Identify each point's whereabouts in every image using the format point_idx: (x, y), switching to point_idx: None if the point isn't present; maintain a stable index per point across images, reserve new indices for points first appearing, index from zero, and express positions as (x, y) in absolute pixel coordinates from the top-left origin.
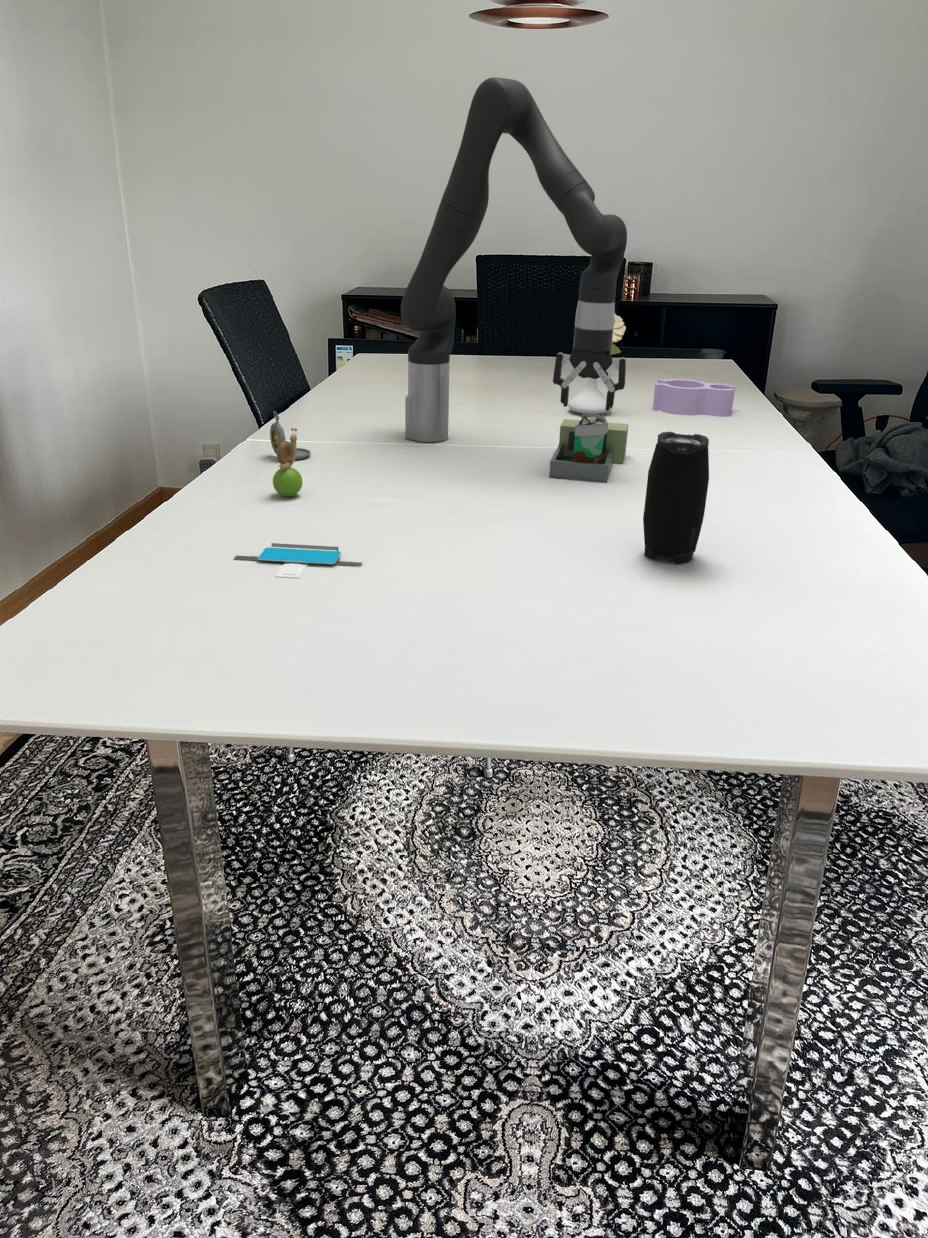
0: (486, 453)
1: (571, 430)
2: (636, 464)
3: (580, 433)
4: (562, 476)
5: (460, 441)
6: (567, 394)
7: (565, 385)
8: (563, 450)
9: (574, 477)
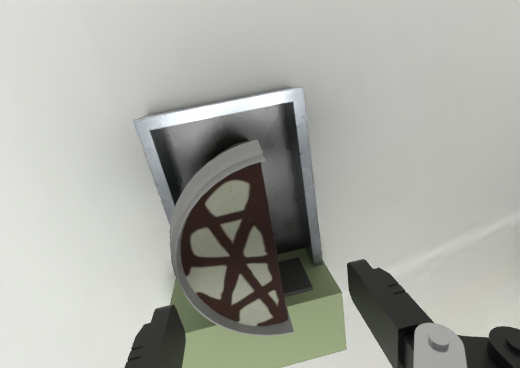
0: (452, 198)
1: (308, 292)
2: (149, 283)
3: (237, 149)
4: (258, 93)
5: (505, 246)
6: (378, 301)
7: (429, 337)
8: (307, 255)
9: (229, 99)
